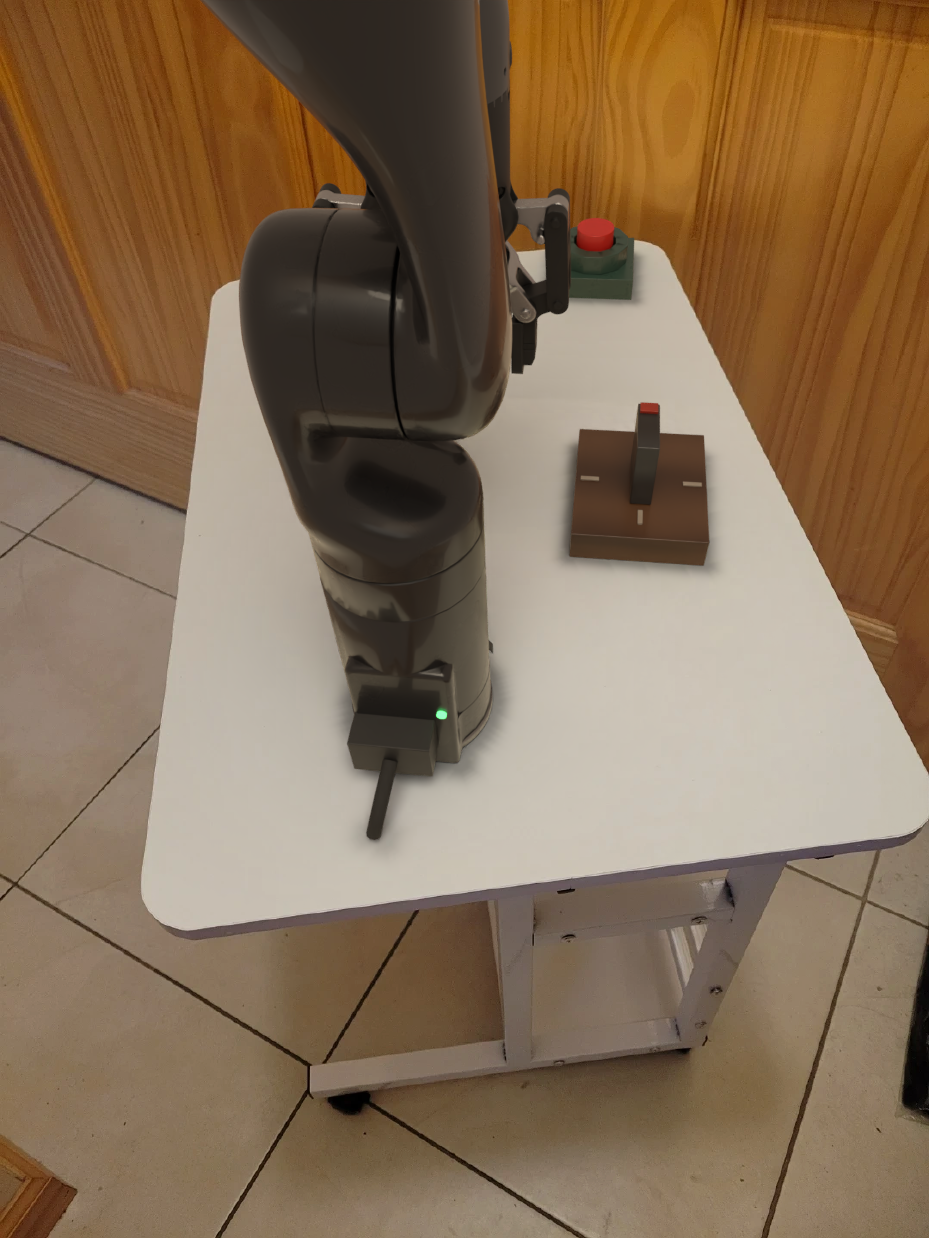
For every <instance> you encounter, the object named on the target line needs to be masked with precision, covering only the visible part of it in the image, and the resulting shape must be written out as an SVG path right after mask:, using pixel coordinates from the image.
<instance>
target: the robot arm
mask: <svg viewBox="0 0 929 1238" xmlns="http://www.w3.org/2000/svg"><path fill="white" fill-rule="evenodd" d="M199 1H200V2H201V3H202V4H203V5H204V6H205V7H206V9H207V10H208V11H209V12H210V13H211V14H212V15H213V16H214V17H215V18H216V19H217V20H218V22H219V23H220V25H222V26H224V28H225V29H226V30H227V31H228V32H229V33H230V35H232V36H233V37H234V38H235V39H236V40H237V41H238V43H240V44H241V45H242V46H243V47H244V48H245V49H246V50H247V52H248V53H250V54H251V55H252V57H254V59H255V60H256V61H258V62H259V64H260V65H262V66H263V67H264V68H265V69H266V70H267V72H269V73H270V74H271V75H272V76H273V77H274V79H276V80H277V81H278V82H279V83H280V85H282V86H283V87H284V88H285V89H286V91H288V92H289V93H290V94H291V95H292V96H293V97H294V98H295V99H296V100H297V102H299V103H300V104H301V105H302V106H303V107H304V108H305V109H306V111H308V112H309V113H310V114H311V115H312V117H313V118H315V120H316V121H317V122H318V124H320V125H321V126H322V127H323V129H324V130H325V131H326V132H327V133H328V134H329V136H331V138H333V140H334V141H335V142H336V143H337V144H338V145H339V146H340V148H341V149H342V150H343V151H344V152H345V154H346V155H347V156H348V158H349V159H350V160H351V162H352V163H353V165H354V166H355V167H356V169H357V170H358V171H359V173H360V174H361V176H362V178H363V180H364V182H365V195H359V194H347V193H342V191H341V189H340V188H339V187H338V186H337V185H336V184H334V183H331V182H327V183H324V184H323V185H322V186H321V187H320V189H319V191H318V193H317V195H316V197H315V200H314V202H313V204H312V206H311V207H292V208H291V207H290V208H284V209H279V210H276V211H274V212H271V213H270V214H268V215H266V216H265V217H264V218H263V219H262V220H261V221H260V223H258V224H257V225H256V227H255V228H254V230H253V231H252V232H251V235H250V237H249V239H248V242H247V243H246V246H245V249H244V253H243V256H242V261H241V268H240V274H239V280H238V281H239V282H238V311H239V324H240V334H241V340H242V344H243V350H244V355H245V360H246V365H247V369H248V373H249V377H250V381H251V385H252V388H253V391H254V395H255V398H256V400H257V404H258V407H259V410H260V414H261V417H262V419H263V421H264V424H265V427H266V430H267V433H268V435H269V438H270V442H271V444H272V447H273V449H274V452H275V455H276V458H277V461H278V463H279V466H280V469H281V470H280V471H281V473H282V476H283V479H284V481H285V484H286V488H287V490H288V494H289V497H290V501H291V504H292V507H293V509H294V512H295V515H296V517H297V519H298V521H299V523H300V524H301V525H302V527H303V528H304V529H305V531H306V532H307V533H308V537H309V539H310V545H311V548H312V551H313V555H314V559H315V563H316V567H317V571H318V575H319V581H320V583H321V587H322V593H323V595H324V599H325V603H326V608H327V610H328V614H329V618H330V622H331V626H332V630H333V634H334V638H335V643H336V645H337V646H336V647H337V649H338V653H339V657H340V661H341V664H342V668H343V672H344V677H345V680H346V684H347V688H348V691H349V695H350V699H351V707H352V712H353V718H352V722H351V726H350V730H349V733H348V737H347V742H346V745H347V748H348V752H349V755H350V759H351V762H352V765H353V769H354V770H360V771H361V770H362V771H370V772H371V771H373V772H379V775H378V779H377V783H376V787H375V792H374V796H373V800H372V805H371V808H370V809H371V810H370V814H369V817H368V823H367V827H366V832H365V834H366V837H367V838H368V839H369V840H371V841H377V840H380V838H381V837H382V833H383V829H384V825H385V819H386V816H387V812H388V807H389V804H390V803H389V802H390V798H391V794H392V789H393V784H394V782H395V776H396V774H402V775H411V776H421V777H434V774H435V773H434V772H435V766H436V762H441V763H452V764H455V763H458V762H460V759H461V754H462V750H463V748H464V747H466V746H467V745H468V744H470V743H471V742H472V741H473V740H475V738H476V737H477V736H479V734H480V733H481V732H482V730H483V729H484V727H485V725H486V724H487V723H488V720H489V718H490V716H491V712H492V709H493V708H492V707H493V698H494V697H493V696H494V695H493V684H492V680H491V659H490V653H491V654H493V655H494V643H493V642H492V641H491V640H490V639H489V615H488V614H489V613H488V591H487V587H488V586H487V564H486V533H485V532H486V531H485V530H486V529H485V508H484V507H485V503H484V501H485V500H484V486H483V481H482V477H481V474H480V471H479V468H478V467H477V465H476V462H475V460H474V459H473V457H472V456H471V455H470V454H469V452H468V451H467V449H465V448H464V447H463V446H462V445H461V444H460V443H459V442H457V440H459V441H460V440H464V439H467V438H471V437H474V436H475V435H478V434H479V433H481V432H482V431H483V430H485V428H487V427H488V426H489V425H490V424H491V422H493V420H494V418H495V417H496V415H497V413H498V412H499V409H500V407H501V406H502V403H503V401H504V398H505V395H506V392H507V388H508V384H509V379H510V372H511V375H512V374H513V375H523V374H524V371H525V366H532V365H533V363H534V361H535V359H536V354H537V348H538V347H537V346H538V319H539V318H540V317H541V316H543V315H545V314H548V313H551V314H554V315H562V314H564V313H565V312H567V310H568V309H569V305H570V298H569V289H570V286H571V242H570V229H571V196H570V194H569V192H568V191H567V190H566V189H564V188H559V187H558V188H554V189H552V190H551V191H550V192H549V193H548V195H547V197H536V198H533V197H532V198H518V195H517V194H516V192H515V190H514V188H513V185H512V180H511V79H510V78H511V77H510V76H511V67H512V65H513V47H512V42H511V40H510V38H511V37H510V36H511V35H510V10H509V0H199ZM518 225H522V226H524V227H526V228H527V229H528V231H529V234H530V237H531V239H532V241H533V242H534V243H536V244H537V245H539V246H542V245H544V259H545V279H544V280H540V281H537V282H536V280H534V278H533V277H532V275H531V274H530V273H529V272H528V271H527V269H526V268H525V267H524V265H523V264H522V262H521V260H520V257H519V254H518V252H517V251H516V250H515V249H514V247H513V246H512V244H511V243H510V241H509V239H510V237H511V236H512V235H513V233H514V232H516V229H517V227H518Z"/></svg>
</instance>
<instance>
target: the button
mask: <svg viewBox="0 0 929 1238" xmlns="http://www.w3.org/2000/svg"><path fill="white" fill-rule="evenodd" d="M577 226H578V227H577V247H578V248H580V249H583V250H586V251H604V250H607V249H610V248H611V247H612V246H613V238H614V227H615V225H614V223H613V222H612V221H610V220H608V219H607V218H602V217H590V218H585V219H583V220H581V221H580V222H579V223H578V224H577Z"/></svg>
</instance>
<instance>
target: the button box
mask: <svg viewBox="0 0 929 1238" xmlns="http://www.w3.org/2000/svg"><path fill="white" fill-rule="evenodd" d="M577 227H578V225H577V226H573V227H570V242H571V286H570V289H569V299H593V300H620V301H621V300H622V301H625V300H626V301H632V294H633V286H634V270H635V269H634V265H635V237H629V236H628V235H627V234H626V233H625V232H624V231H623V230H622V229H621V228H618V227H615V226H614V238H613V246H612V247H611V248H610V249H607V250H604V251H586V250H583V249H580V248H578V247H577Z"/></svg>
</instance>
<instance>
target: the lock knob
mask: <svg viewBox="0 0 929 1238" xmlns="http://www.w3.org/2000/svg"><path fill="white" fill-rule="evenodd" d="M633 432H634V439H633V447H632V454H631V472H630V503H633V504H651V501H652V495H653V489H654V483H655V477H656V471H657V465H658V459H659V452H660V433H661V405H660V404H659V402H645V401H644V402H642V401H641V402H640V403H637V409H636V417H635V423H634V431H633Z"/></svg>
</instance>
